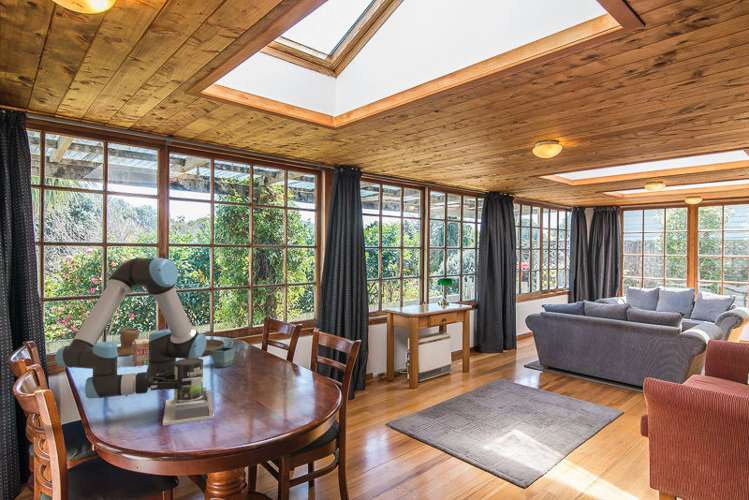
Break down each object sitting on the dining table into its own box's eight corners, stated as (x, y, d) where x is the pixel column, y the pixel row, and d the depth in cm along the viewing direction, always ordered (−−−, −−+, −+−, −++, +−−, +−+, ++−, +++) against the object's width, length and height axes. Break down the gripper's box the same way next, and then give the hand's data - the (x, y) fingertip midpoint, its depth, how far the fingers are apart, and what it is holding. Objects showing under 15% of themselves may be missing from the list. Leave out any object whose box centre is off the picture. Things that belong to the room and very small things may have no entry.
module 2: (175, 420, 154) (175, 410, 154) (175, 415, 159) (175, 405, 159) (208, 415, 159) (208, 406, 159) (207, 410, 163) (207, 401, 163)
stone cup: (141, 354, 252) (141, 328, 252) (118, 357, 244) (118, 331, 244) (134, 349, 263) (134, 325, 263) (112, 352, 255) (112, 327, 255)
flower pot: (210, 367, 226) (210, 350, 226) (222, 363, 234) (222, 346, 234) (224, 369, 223) (224, 351, 223) (235, 364, 231) (235, 348, 231)
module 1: (176, 403, 171) (176, 394, 171) (176, 399, 175) (177, 390, 175) (206, 399, 175) (206, 391, 175) (206, 395, 180) (206, 387, 180)
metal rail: (209, 416, 158) (209, 410, 158) (206, 395, 180) (206, 390, 180) (213, 415, 159) (213, 409, 159) (210, 394, 181) (210, 390, 181)
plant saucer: (167, 360, 239) (167, 352, 239) (169, 348, 267) (169, 341, 267) (226, 355, 252) (226, 347, 252) (222, 344, 280) (222, 337, 280)
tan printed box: (132, 358, 244) (132, 336, 244) (144, 356, 247) (144, 335, 247) (136, 367, 226) (136, 343, 226) (149, 365, 229) (149, 342, 229)
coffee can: (208, 396, 168) (209, 360, 168) (184, 404, 159) (185, 366, 159) (192, 391, 174) (192, 356, 174) (168, 399, 165) (168, 362, 165)
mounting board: (162, 425, 152) (162, 422, 152) (166, 402, 175) (166, 399, 175) (214, 418, 159) (214, 415, 159) (211, 396, 182) (211, 394, 182)
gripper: (138, 384, 170) (200, 378, 178) (131, 403, 149) (201, 395, 158) (139, 365, 170) (200, 360, 178) (132, 381, 149) (201, 375, 158)
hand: (200, 377), depth 168 cm, fingers closed on coffee can, 10 cm apart
